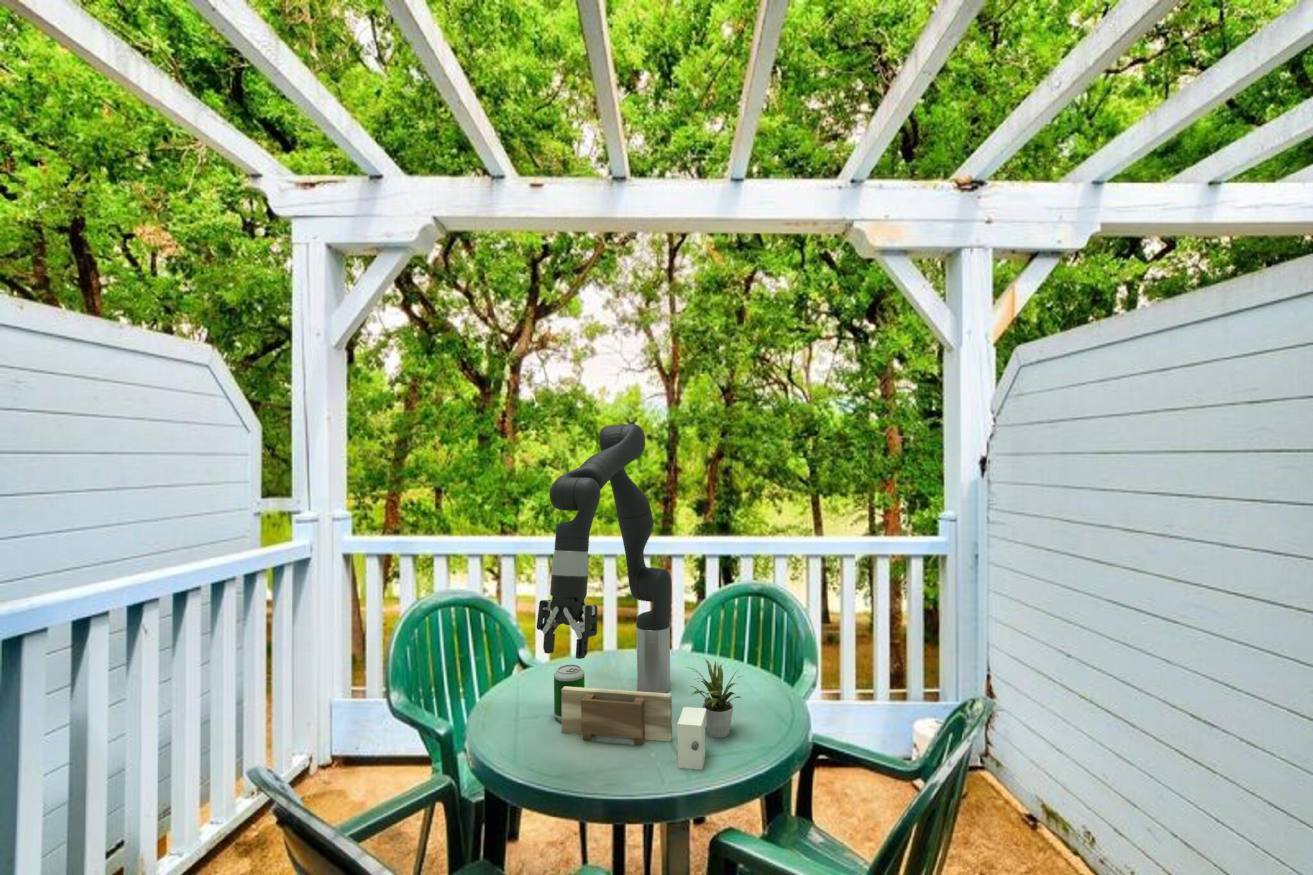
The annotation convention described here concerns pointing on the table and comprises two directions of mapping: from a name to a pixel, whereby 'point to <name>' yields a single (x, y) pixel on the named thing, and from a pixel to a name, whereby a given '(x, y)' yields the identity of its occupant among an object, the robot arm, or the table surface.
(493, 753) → the table surface
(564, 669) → the soda can
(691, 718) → the cabinet
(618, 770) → the table surface
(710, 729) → the house plant
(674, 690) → the table surface
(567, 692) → the wall board
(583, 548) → the robot arm
